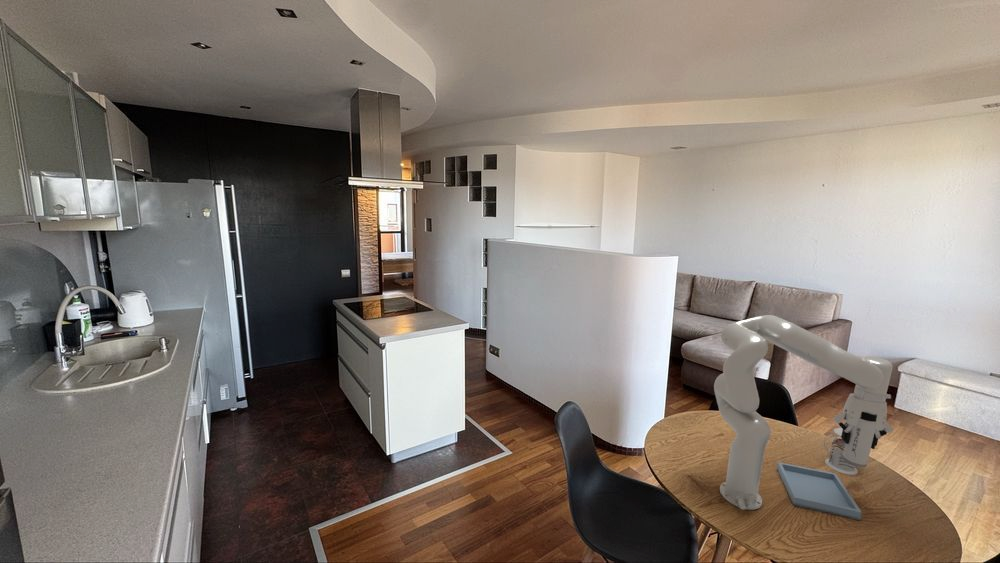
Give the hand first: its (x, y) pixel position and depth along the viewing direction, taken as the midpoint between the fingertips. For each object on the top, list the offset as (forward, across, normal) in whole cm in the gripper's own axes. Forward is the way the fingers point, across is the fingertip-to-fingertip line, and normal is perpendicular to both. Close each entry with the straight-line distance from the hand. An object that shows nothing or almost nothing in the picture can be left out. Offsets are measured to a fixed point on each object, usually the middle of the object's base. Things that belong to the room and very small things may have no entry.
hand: (857, 443), depth 134 cm
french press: (+21, -5, -20) cm, 29 cm away
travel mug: (+7, 0, 0) cm, 7 cm away
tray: (+21, +9, +1) cm, 23 cm away
